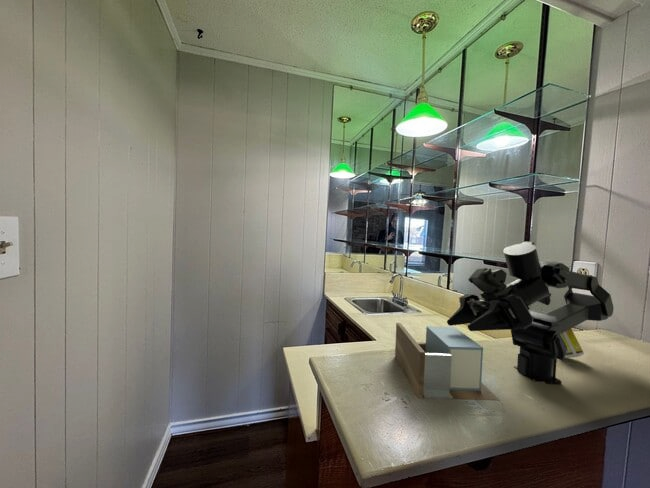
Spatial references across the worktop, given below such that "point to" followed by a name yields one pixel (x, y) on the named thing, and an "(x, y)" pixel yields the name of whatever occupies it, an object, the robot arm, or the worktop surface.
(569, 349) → the supplement bottle
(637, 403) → the worktop surface
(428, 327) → the light blue block
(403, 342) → the shelf
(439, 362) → the bookend
